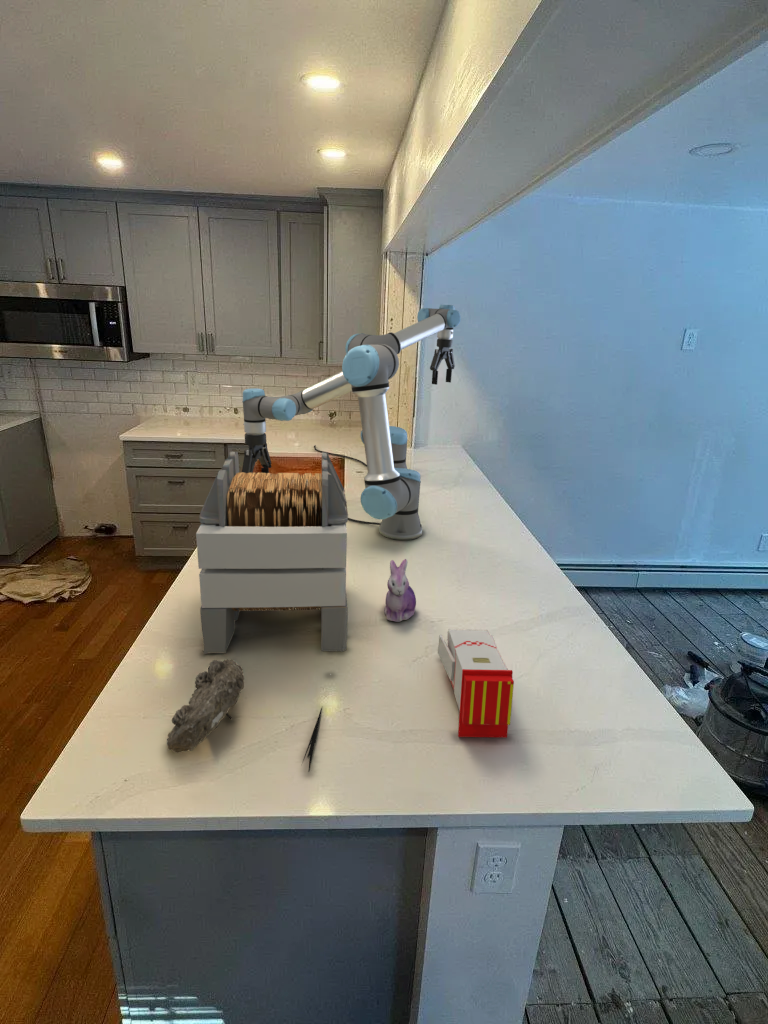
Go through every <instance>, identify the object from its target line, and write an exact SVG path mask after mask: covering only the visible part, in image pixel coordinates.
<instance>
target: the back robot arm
mask: <svg viewBox="0 0 768 1024" xmlns="http://www.w3.org/2000/svg"><path fill="white" fill-rule="evenodd" d="M416 319H417V322H415V323H413V324H411V325H409V326H407V327H405V328H403V329H400V330H397V331H396V332H391V331H390V332H388V333H385V334H379V335H378V334H367V333H363V332H361V333H354V334H352V335H351V336H350V337H349V338H348V339H347V341H346V343H345V347H344V349H345V355H346V354H347V353H348V351H350V350H351V349H352V348H354V347H357V346H361V345H376V344H384V345H387V346H389V347H391V348H392V349H393V350H394V351H395V352H396V354H397V355H399V354H400V353H401V351H402V350H404V349H406V348H409V347H410V346H412V345H415V344H416V343H418V342H420V341H423V340H425V339H427V338H429V337H432V336H433V335H435V334H436V337H437V338H436V347H437V348H438V349H437V348H435V349H434V352H433V356H432V360H431V363H430V366H429V369H430V371H432V372H431V373H432V374H431V385H438V379H439V370H438V369H439V367H440V365H441V363H442V361H443V360H444V362H445V365H446V367H447V368H446V369H445V371H446V372H445V383H449V384H450V383H452V375H453V370H455V367H456V365H455V358H454V349H453V348H452V347H453V338H454V328H457V327H458V326H459V325H460V324H461V320H462V316H461V312H460V311H459V310H457V309H456V307H455V305H454V304H440V305H439V306H438V308H430V307H425V308H420V309H419V310H418V311H417V318H416ZM389 430H390V438H391V446H392V454H393V462H394V468H405V469H408V466H407V449H408V439H409V438H408V433H407V430H406V429H404V428H402V427H400V426H395V425H389ZM360 440H361V442H362V444H363V445H364V439H363V432H362V430H360ZM313 449H314V451H316V452H318V453H322V452H324V453H328V455H332V456H337V457H341V458H346V459H350V460H353V461H355V462H359V463H361V464H362V465H364V466H365V467H366V468H367V463H365V462H363V461H362V460H360V459H358V458H356V457H350V456H347V455H343V454H339V453H333V452H328V451H323V450H319V449H317V445H316V444H314V445H313Z"/></svg>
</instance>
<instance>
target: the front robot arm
mask: <svg viewBox="0 0 768 1024" xmlns="http://www.w3.org/2000/svg"><path fill="white" fill-rule="evenodd" d="M399 360H400V359H399V356H398V354H396V352H395V351H394V350H393V349H392V348H391V347H389V346H387V345H384V344H376V345H361V346H357V347H354V348H352V349H351V350H350V351H348V353H347V354H346V353H345V356H344V357H343V359H342V363H341V371H339V372H336V373H335V374H333V375H331V376H329V377H327V378H325V379H322V380H320V381H319V382H316V383H314V384H312V385H311V386H308V387H306V388H305V389H302V390H299V392H296V393H293V394H288V395H282V396H269V395H267V396H266V394H265V390H264V389H262V388H254V387H253V388H245V389H244V390H243V391H242V402H241V403H242V410H243V424H242V425H243V429H244V433H245V434H244V443H245V445H247V446H248V449H244V452H243V461H242V467H241V472H245V473H251V474H252V473H254V469H255V465H256V463H257V462H258V461H259V464H260V465H261V466H262V467H261V470H260V473H270V469H272V460H271V456H270V452H269V449H268V444H267V434H266V432H267V423H266V421H267V420H266V419H270V420H276V421H280V422H289V421H291V420H293V418H294V417H295V416H300V415H306V414H308V413H311V412H312V411H313V410H314V409H316V408H318V407H321V406H323V405H326V404H328V403H329V402H332V401H334V400H336V399H338V398H341V397H343V396H345V395H347V394H349V393H352V394H353V395H354V396H355V397H357V401H358V410H359V416H360V424H361V431H362V432H363V439H364V444H363V447H364V453H365V454H364V455H365V460H366V465H367V467H366V469H367V473H366V475H365V476H364V477H363V481H364V489H363V491H362V493H361V494H360V504H361V507H362V509H363V511H364V512H365V513H366V514H367V515H369V517H371V518H373V519H375V520H381V522H375V521H365V520H358V519H354V518H350V517H348V521H350V522H354V523H359V524H364V525H374V526H378V533H379V534H380V535H381V536H382V537H385V538H387V539H389V540H395V541H410V540H415V539H418V538H420V537H421V536H422V535H423V524H421V518H420V515H419V507H420V506H419V505H420V496H421V495H420V494H421V493H420V492H421V483H422V481H421V473H420V472H419V471H417V470H415V469H411V468H407V469H405V468H394V462H393V454H392V446H391V438H390V430H389V426H390V421H389V414H388V405H387V398H386V394H387V392H388V391H389V389H390V382H389V380H391V379H392V378H393V377H395V375H396V374H397V372H398V370H399V366H400V365H399V364H400V361H399Z"/></svg>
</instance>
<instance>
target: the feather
mask: <svg viewBox="0 0 768 1024" xmlns="http://www.w3.org/2000/svg"><path fill="white" fill-rule="evenodd" d="M329 675H330V676H331V675H332V674H331V673H330V674H329ZM322 710H323V707H321V708H320V710H319V713H318V716H317V719H316V723H315V725H314V728H313V731H312V733H311V737H310V739H309V742H308V745H307V748H306V751H305V754H304V757H303V760H302V763H301V767H302V765H303V763H304V761H305V758H308V759H309V760H308V762H307V763H308V764H307V766H308V771H310V770H311V766H312V765H311V764H312V760H313V757H315V756H314V755H315V751H316V749H315V746H317V739H318V733H319V729H320V722H321V717H322V712H323V711H322ZM313 754H314V755H313ZM306 755H307V757H306Z"/></svg>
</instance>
